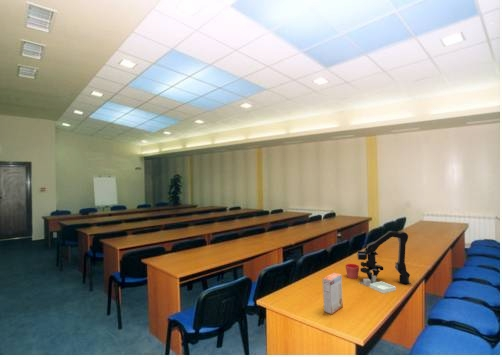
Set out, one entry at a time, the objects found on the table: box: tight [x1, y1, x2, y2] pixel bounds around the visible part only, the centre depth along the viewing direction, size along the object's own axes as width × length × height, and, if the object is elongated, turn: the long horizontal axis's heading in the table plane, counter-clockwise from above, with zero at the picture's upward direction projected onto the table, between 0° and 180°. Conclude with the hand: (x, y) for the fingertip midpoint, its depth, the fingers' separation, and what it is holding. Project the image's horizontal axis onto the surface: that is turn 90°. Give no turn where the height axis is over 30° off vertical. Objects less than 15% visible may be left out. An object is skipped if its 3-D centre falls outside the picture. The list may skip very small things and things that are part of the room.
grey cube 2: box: [362, 277, 371, 287], centre depth 204 cm, size 4×4×4 cm
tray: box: [369, 281, 397, 294], centre depth 196 cm, size 12×12×3 cm
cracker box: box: [321, 272, 344, 315], centre depth 168 cm, size 14×6×21 cm, turn 134°
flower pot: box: [345, 263, 360, 279], centre depth 222 cm, size 11×11×10 cm
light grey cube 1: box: [368, 274, 377, 282], centre depth 211 cm, size 4×4×4 cm
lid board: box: [358, 279, 378, 286], centre depth 209 cm, size 14×11×1 cm
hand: (372, 279), depth 211 cm, fingers closed on light grey cube 1, 4 cm apart
